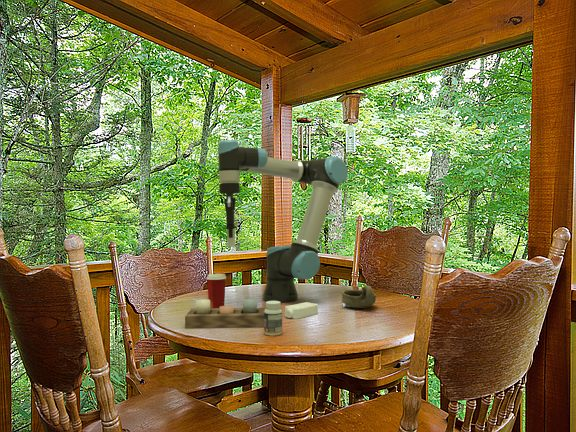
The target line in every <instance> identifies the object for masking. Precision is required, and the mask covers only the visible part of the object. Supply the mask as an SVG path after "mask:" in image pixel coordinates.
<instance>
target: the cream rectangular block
mask: <svg viewBox="0 0 576 432" xmlns="http://www.w3.org/2000/svg"><path fill="white" fill-rule="evenodd" d="M318 314H319V305H318V304H317V303H313V302H308V301H305V302H300V303H295V304H292V305H291V304H290V305H285V306H284V318H287V319H288V318H289V319H292V320H300V319H303V318H308V317H312V316H316V315H318Z"/></svg>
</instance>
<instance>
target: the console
mask: <svg viewBox="0 0 576 432" xmlns="http://www.w3.org/2000/svg"><path fill="white" fill-rule="evenodd" d="M265 309H266V308H265V307H257V313H243V307H234V314H220V308H210V314H196V308H190V310H189V311H188V313H187V314H185V316H184V329H230V328H231V329H235V328H236V329H237V328H239V329H240V328H241V329H242V328H243V329H244V328H246V329H248V328H264V310H265Z"/></svg>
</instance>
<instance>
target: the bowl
mask: <svg viewBox="0 0 576 432" xmlns="http://www.w3.org/2000/svg"><path fill="white" fill-rule="evenodd" d="M341 295H342V297H341V303H343V304H345V305H346V306H347V307H350V308H354V309H366V308H368V307H371V306H372V305H374V304H375V303H376V300H377V299H376V297H377V294H376V293H375V292H374V291H373V288H372V286H370V285H364V286H363V288H362V289H345V290H343V291H341Z"/></svg>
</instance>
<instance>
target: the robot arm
mask: <svg viewBox="0 0 576 432" xmlns="http://www.w3.org/2000/svg"><path fill="white" fill-rule="evenodd" d="M217 155H218V156H217V157H218V173H217V175H216V176H217V177H218V181H219V182H220V183H219V185H218V187H219V188H218V190H219V194H221V195H222V194H223V195H225V198H224V200H223V202H224V210H225V216H226V217H225V218H226V219H225V220H226V225H225V226H226V227H225V226H224V229H225V230H226V237H227V239H226V240H227V243H226V244H227V248H230V247H231V248H232V247H236V237H235V236H236V234H235V233H236V232H235V229H237V226H235V225H236V224H235V210H236V198H234V194H239V193H240V192H241V186H240V183H239V182H240V180H241V178H240V177H241V176H240V172H246V173H253V174H259V175H267V176H271V177H277V178H278V177H279V178H286V179H291V180H292V181H293V182H297V183H302V184H307V185H311V186H312V191H311V194H310V197H309V200H308V202H307V207H306V210H305V213H304V216H303V219H302V221H301V222H302V223H301V224H300V225H301V226H300V228H299V231H298V234H297V237H296V239H295V240H294V241H292V242H291V245H279V246H271V247H268V248H267V249H266V283H265V284H266V285H265V287H264V289H263V294H262V300H264V301H266V302H267V301H279V302H281V303H288V302H294V301H297V300H298V299H299V298H298V297H299V294H298V290H297V287H296V284H295V280H294V279H297V280H309V279H311V278H313V277H315V275H317V274H318V271H319V270H320V267H321V260H320V257H319V249H318V246H317V244H318V242H319V237H320V236H321V233H322V229H323V226H324V223H325V218H326V217H327V212H328V210H329V207H330V202H331V200H332V197H333V194H335V193H337V192H338V189H339V186H340V185H341V184H343V183H344V182H346V180H347V179H348V175H349V174H348V173H349V172H348V171H349V170H348V166H347V165H346V162H345V161H344V160H343V159H342V158H340V157H338V156H328V157H324V158H314V159H308V160H299V159H296V160H294V161H291V160H288V159H287V160H286V159H279V158H275V157H271V156H270V157H269V156H268V153H267V151H266V150H265V148H259V147H244V146H240V144H239V141H238V140H235V139H234V140H233V139H225V140H220V141H218V147H217Z"/></svg>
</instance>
